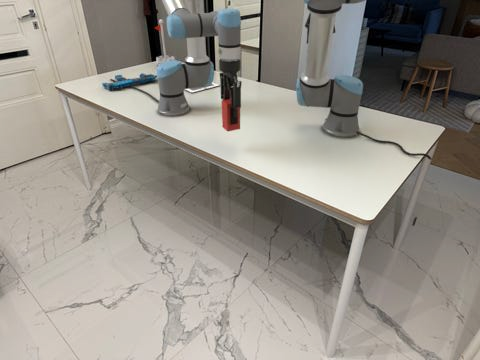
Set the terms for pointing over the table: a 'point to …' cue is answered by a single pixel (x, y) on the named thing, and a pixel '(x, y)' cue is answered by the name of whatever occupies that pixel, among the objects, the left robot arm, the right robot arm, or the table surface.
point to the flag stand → (161, 58)
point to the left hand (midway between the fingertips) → (230, 121)
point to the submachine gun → (128, 81)
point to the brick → (228, 116)
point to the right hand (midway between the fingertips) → (317, 45)
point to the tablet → (201, 88)
